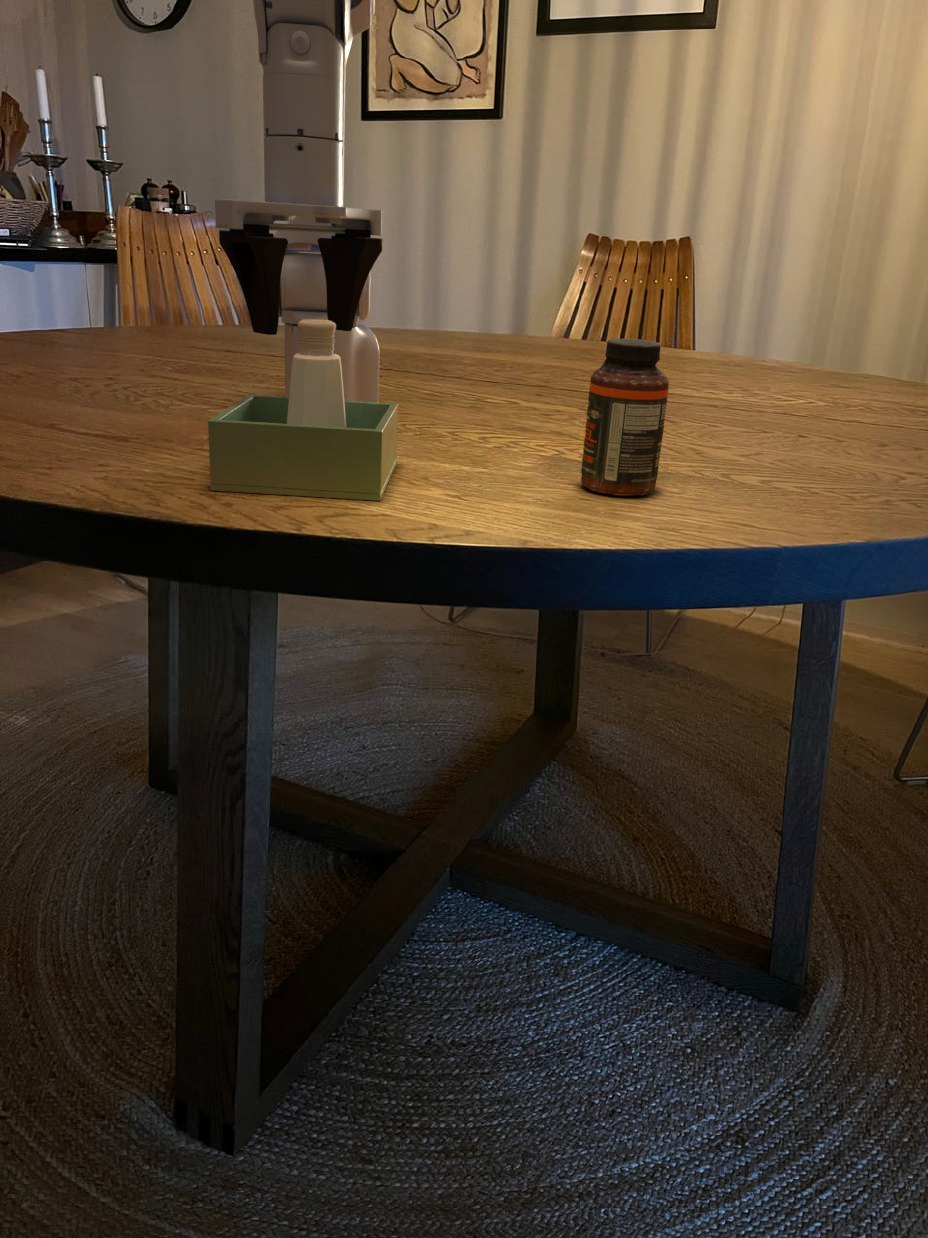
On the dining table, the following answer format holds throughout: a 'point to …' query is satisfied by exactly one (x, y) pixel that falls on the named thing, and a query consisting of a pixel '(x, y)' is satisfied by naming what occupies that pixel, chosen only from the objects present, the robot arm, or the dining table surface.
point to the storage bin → (302, 450)
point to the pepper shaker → (316, 378)
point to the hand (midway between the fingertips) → (304, 331)
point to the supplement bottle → (625, 420)
